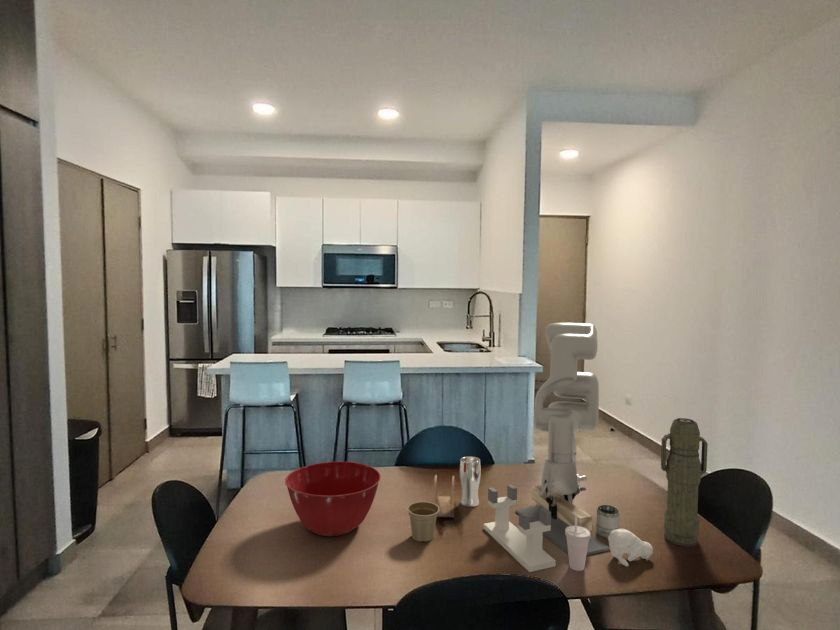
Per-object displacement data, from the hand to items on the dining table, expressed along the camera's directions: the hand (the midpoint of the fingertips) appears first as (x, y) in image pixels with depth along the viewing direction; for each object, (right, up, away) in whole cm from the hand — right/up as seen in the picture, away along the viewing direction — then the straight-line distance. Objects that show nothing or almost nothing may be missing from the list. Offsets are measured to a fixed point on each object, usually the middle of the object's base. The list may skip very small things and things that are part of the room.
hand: (559, 515), depth 154 cm
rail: (0, +1, 0) cm, 1 cm away
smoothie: (-1, -6, -20) cm, 21 cm away
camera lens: (+14, -5, -2) cm, 15 cm away
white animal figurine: (+15, -6, -16) cm, 23 cm away
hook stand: (-14, -5, -9) cm, 18 cm away
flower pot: (-41, -5, -4) cm, 41 cm away
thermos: (+34, -5, -5) cm, 35 cm away
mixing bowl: (-68, -4, +3) cm, 68 cm away
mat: (0, -4, +1) cm, 4 cm away
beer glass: (-25, -3, +19) cm, 32 cm away
